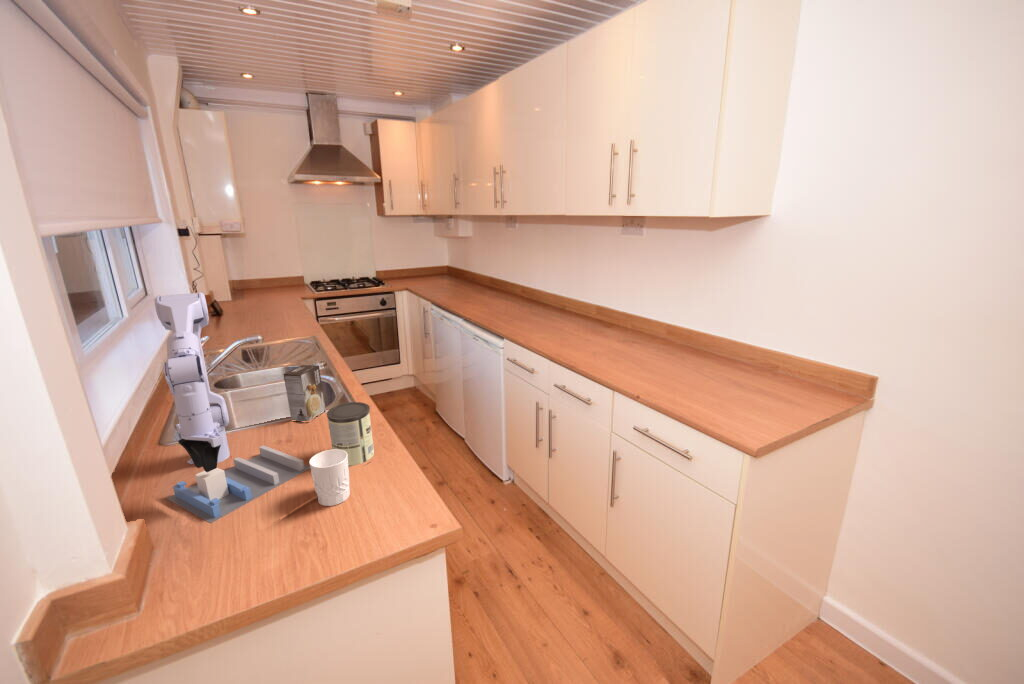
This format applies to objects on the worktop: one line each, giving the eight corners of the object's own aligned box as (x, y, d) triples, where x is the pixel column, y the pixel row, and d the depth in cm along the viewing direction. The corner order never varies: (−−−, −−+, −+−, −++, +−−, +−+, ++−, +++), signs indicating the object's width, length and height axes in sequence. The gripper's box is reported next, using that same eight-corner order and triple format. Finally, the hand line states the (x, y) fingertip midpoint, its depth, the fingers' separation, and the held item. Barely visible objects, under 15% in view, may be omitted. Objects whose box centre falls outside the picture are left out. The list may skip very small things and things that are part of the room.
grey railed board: (167, 502, 100) (163, 486, 99) (268, 453, 120) (265, 440, 119) (211, 527, 91) (207, 510, 90) (312, 470, 112) (310, 456, 110)
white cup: (343, 483, 106) (338, 445, 103) (358, 497, 101) (353, 457, 98) (309, 497, 101) (303, 458, 98) (323, 513, 95) (317, 471, 93)
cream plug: (200, 498, 99) (195, 474, 98) (219, 489, 103) (214, 466, 101) (210, 503, 97) (205, 479, 96) (229, 494, 101) (224, 470, 99)
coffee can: (334, 453, 120) (327, 405, 116) (374, 446, 123) (369, 399, 119) (332, 473, 110) (325, 421, 107) (375, 465, 114) (369, 414, 110)
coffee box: (309, 410, 148) (302, 364, 144) (326, 411, 147) (320, 365, 142) (290, 421, 139) (282, 373, 135) (308, 423, 138) (301, 374, 134)
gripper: (233, 410, 94) (244, 467, 98) (196, 398, 101) (207, 451, 105) (197, 423, 88) (210, 483, 92) (160, 409, 95) (174, 466, 99)
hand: (206, 467), depth 98 cm, fingers open, 3 cm apart
